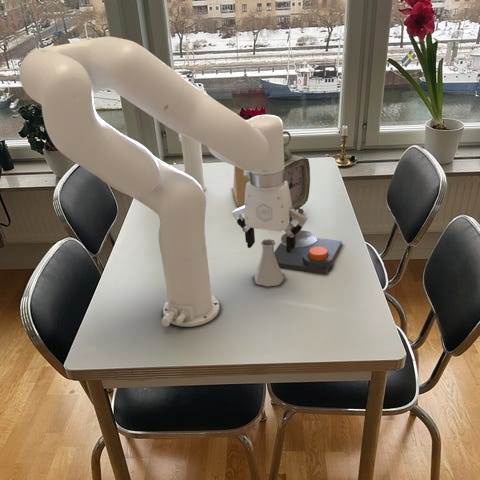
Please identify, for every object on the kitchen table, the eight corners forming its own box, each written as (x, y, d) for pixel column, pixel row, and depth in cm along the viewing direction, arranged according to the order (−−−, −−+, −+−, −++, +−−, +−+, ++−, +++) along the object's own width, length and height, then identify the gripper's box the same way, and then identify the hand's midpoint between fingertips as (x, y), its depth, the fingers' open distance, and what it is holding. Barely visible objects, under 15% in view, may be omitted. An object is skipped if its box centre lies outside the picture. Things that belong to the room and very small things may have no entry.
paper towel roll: (194, 185, 182) (188, 121, 170) (208, 188, 179) (202, 123, 167) (181, 192, 178) (172, 127, 165) (195, 196, 175) (187, 129, 162)
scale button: (324, 262, 129) (324, 256, 128) (307, 260, 130) (307, 253, 129) (329, 254, 132) (329, 247, 131) (312, 251, 134) (312, 245, 133)
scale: (328, 275, 129) (329, 264, 127) (267, 266, 134) (267, 256, 132) (344, 245, 141) (344, 235, 139) (287, 238, 146) (287, 228, 144)
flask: (281, 288, 125) (281, 250, 120) (251, 286, 127) (249, 248, 121) (285, 272, 131) (285, 235, 125) (256, 271, 133) (255, 234, 127)
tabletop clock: (278, 231, 150) (277, 141, 136) (254, 223, 155) (250, 136, 141) (309, 213, 159) (311, 127, 144) (285, 206, 164) (284, 122, 149)
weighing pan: (311, 250, 134) (311, 248, 133) (276, 245, 137) (276, 244, 137) (321, 234, 141) (321, 232, 140) (287, 229, 144) (287, 228, 144)
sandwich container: (257, 186, 179) (256, 141, 170) (264, 204, 166) (263, 156, 157) (232, 188, 178) (229, 143, 169) (237, 207, 166) (234, 159, 157)
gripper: (223, 180, 115) (230, 251, 125) (300, 186, 109) (301, 260, 119) (236, 168, 120) (242, 236, 130) (311, 173, 114) (311, 244, 124)
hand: (270, 247), depth 124 cm, fingers open, 9 cm apart
